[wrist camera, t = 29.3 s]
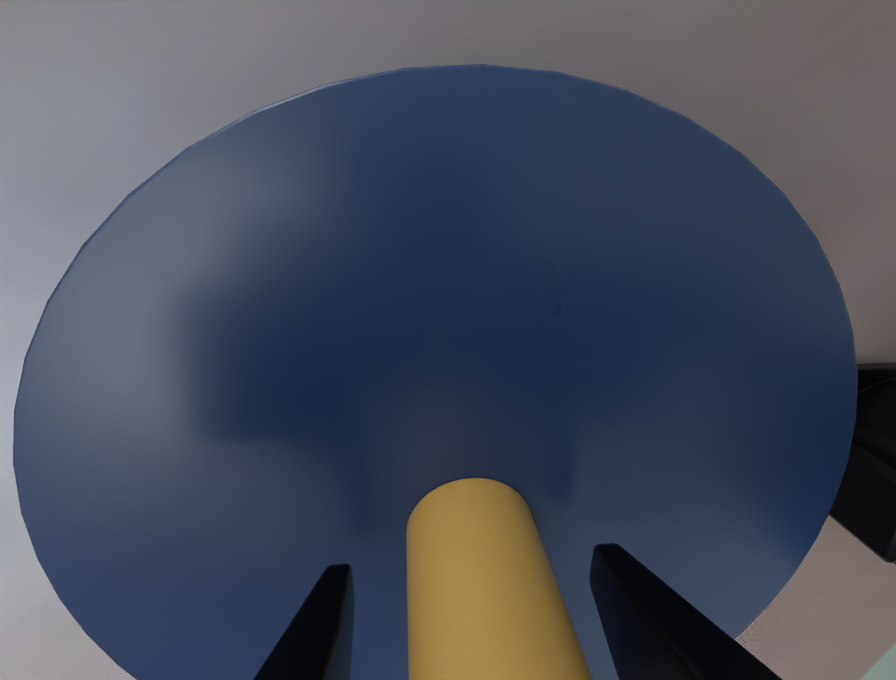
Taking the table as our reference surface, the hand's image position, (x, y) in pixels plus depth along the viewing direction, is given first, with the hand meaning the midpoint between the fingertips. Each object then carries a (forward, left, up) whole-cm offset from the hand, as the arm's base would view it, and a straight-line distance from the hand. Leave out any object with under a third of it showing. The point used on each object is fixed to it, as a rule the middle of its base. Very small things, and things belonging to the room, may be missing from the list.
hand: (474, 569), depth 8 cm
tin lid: (0, 0, -1) cm, 1 cm away
